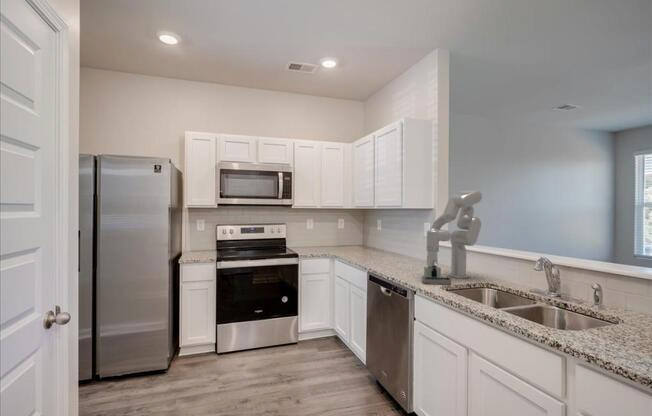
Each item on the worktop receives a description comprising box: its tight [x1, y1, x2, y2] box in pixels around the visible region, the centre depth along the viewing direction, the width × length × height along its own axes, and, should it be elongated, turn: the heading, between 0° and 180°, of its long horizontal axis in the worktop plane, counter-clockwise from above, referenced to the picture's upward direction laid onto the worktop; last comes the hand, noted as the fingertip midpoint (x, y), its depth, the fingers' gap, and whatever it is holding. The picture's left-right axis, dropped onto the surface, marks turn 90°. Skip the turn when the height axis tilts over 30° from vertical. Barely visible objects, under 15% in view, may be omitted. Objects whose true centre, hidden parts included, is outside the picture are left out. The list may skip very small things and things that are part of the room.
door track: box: [421, 275, 452, 286], centre depth 203 cm, size 7×16×4 cm, turn 86°
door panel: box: [423, 266, 442, 278], centre depth 213 cm, size 3×10×8 cm, turn 86°
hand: (432, 275), depth 213 cm, fingers open, 9 cm apart
